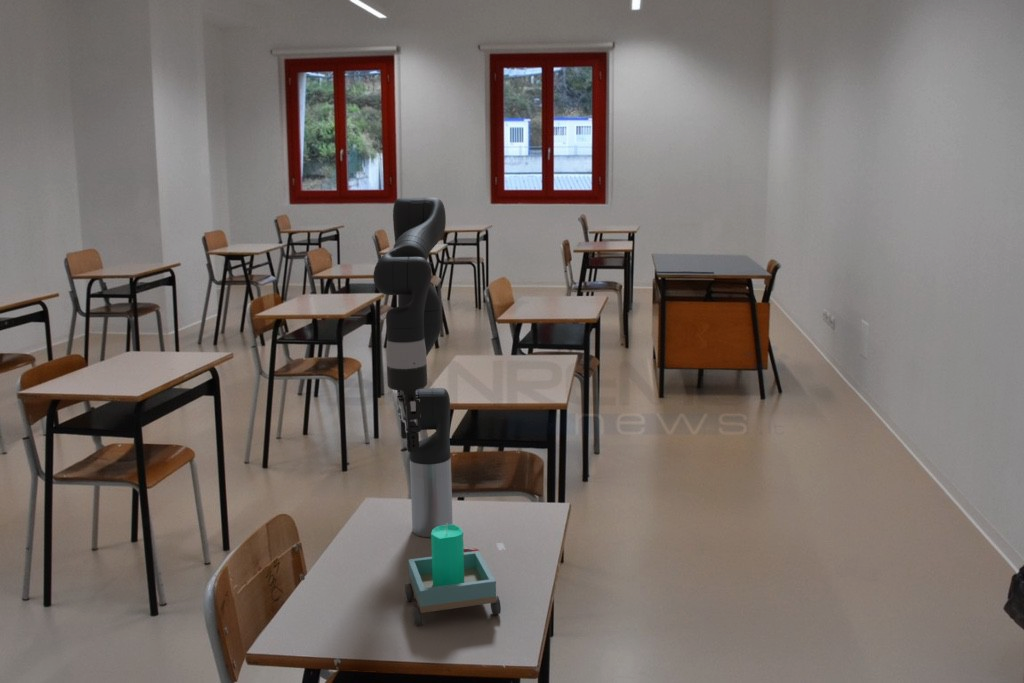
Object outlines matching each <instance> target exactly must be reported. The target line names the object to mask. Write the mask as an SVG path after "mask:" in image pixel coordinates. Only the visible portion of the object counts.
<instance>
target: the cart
mask: <svg viewBox="0 0 1024 683" xmlns="http://www.w3.org/2000/svg"><path fill="white" fill-rule="evenodd" d="M479 551H480V550H479ZM479 551H473V552H465V553H464V583H460V584H452V585H444V586H437V587H435V586H434V585H433V574H432V556H425V557H418V558H417V557H416V558H411V559H410V558H409V559H407V560H408V580H409V583H405V584H404V585H405V586H404V588H405V589H404V590H405V599H406V601H407V602H410V601H414V599H415V600H416V602H417V605H418V606H415V607H413V608H412V610H413V611H412V615H413V622H414V626H421V625H423V622H424V621H423V620H424V619H423V613H431V612H436V611H443V610H444V611H445V610H452V609H460V608H466V607H473V606H474V607H475V606H479V605H480V606H481V605H488V604H490V609H491V613H492V615H500V614H501V601H500V597H499V595H497V580H496V578H495V577H494V576H493V573H492V571H491V570H490V568H489V566H488V564H487V563H486V561H485V559H484V558H483V555H482V553H481V552H479Z"/></svg>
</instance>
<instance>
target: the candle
mask: <svg viewBox="0 0 1024 683" xmlns="http://www.w3.org/2000/svg"><path fill="white" fill-rule="evenodd" d="M430 540H431V544H430V545H431V557H432V574H433V585H434V586H435V587H437V586H444V585H452V584H460V583H464V549H463V548H464V531H463V529H462V528H461V527H460V526H458V525H456V524H453V525H447V523H446V525H443V526H438V527H436V528H434V529H433V530H432V533H431V537H430Z"/></svg>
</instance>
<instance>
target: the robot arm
mask: <svg viewBox="0 0 1024 683" xmlns="http://www.w3.org/2000/svg"><path fill="white" fill-rule="evenodd" d="M446 219H447V218H446V208H445V204H444V203H443V201H442V200H441V199H439V198H438V197H432V196H431V197H430V196H429V197H426V196H425V197H422V196H421V197H399V198H397V199H396V200H395V201H394V204H393V209H392V221H393V223H392V225H393V235H394V244H393V245H394V246H393V248H391V249H390V250H388V251H387V252H386V253H385V254H383V255H382V256H381V257H380V258H379V259H378V261H377V262H376V265H375V266H374V270H373V284H374V286H375V288H376V290H378V292H380V293H381V294H383V295H387V296H397V301H398V303H397V304H398V305H397V306H395V307H393V308H390V309H389V310H387V312H386V314H385V329H386V347H385V348H386V350H385V355H386V358H385V359H386V377H387V378H386V379H387V387H388V388H389V389H390V390H394V391H396V392H397V395H396V404H397V405H396V406H397V407H396V408H397V413H398V418H399V420H400V436H401V439H406V449H407V451H408V453H409V456H408V457H409V472H410V496H411V497H410V498H411V499H410V500H411V503H410V504H411V526H412V527H411V528H412V533H413V534H414V535H416V536H418V537H423V538H431V533H432V530H433V529H434V528H436V527H438V526H443V525H446V523H447V525H454V524H453V496H452V492H453V490H452V487H453V485H452V463H451V461H452V457H451V455H452V454H451V443H450V442H451V441H450V440H451V439H450V435H451V434H450V428H451V427H450V425H451V401H450V399H451V398H450V394H449V392H448V390H447V389H446V388H443V387H442V388H441V387H434V388H433V387H432V388H425V387H426V386H427V385H428V369H427V368H428V367H427V366H428V364H427V356H428V355H429V354H430V352H431V350H432V349H433V347H434V345H435V343H436V341H437V340H438V338H439V336H440V334H441V330H442V314H441V312H442V310H441V308H442V307H441V301H440V300H441V299H440V297H439V295H438V293H437V291H436V290H435V288H434V287H433V285H432V284H431V282H432V277H433V275H432V274H433V272H432V266H431V264H430V263H429V261H428V258H429V255H430V253H431V251H432V250H433V249H434V248H435V247H436V245H438V243H439V242H440V240H441V239H442V238H443V236H444V234H445V230H446V225H447V224H446V223H447V222H446V221H447V220H446ZM429 430H432V431H433V430H435V431H434V432H433V433H432V434H431V435H430V436H428V437H426V438H424V439H422V440H420V437H419V434H420V432H421V431H429Z"/></svg>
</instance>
